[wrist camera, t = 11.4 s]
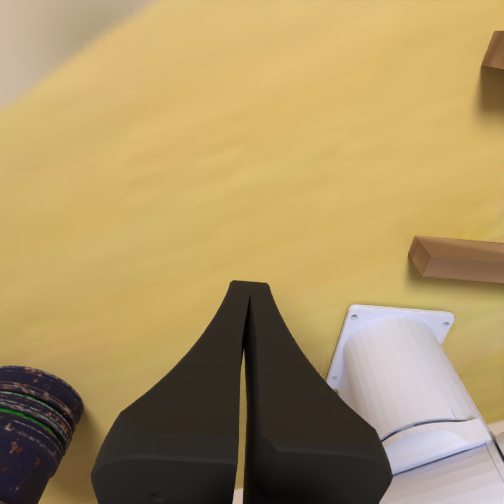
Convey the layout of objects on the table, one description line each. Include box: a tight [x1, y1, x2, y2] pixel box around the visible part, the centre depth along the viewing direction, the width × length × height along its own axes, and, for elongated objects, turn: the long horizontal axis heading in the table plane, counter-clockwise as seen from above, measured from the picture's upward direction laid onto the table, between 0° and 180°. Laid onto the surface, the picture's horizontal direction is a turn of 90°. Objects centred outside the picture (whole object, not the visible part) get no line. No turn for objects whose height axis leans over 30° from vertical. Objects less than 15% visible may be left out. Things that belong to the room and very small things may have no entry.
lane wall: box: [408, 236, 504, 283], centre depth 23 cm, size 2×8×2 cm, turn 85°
